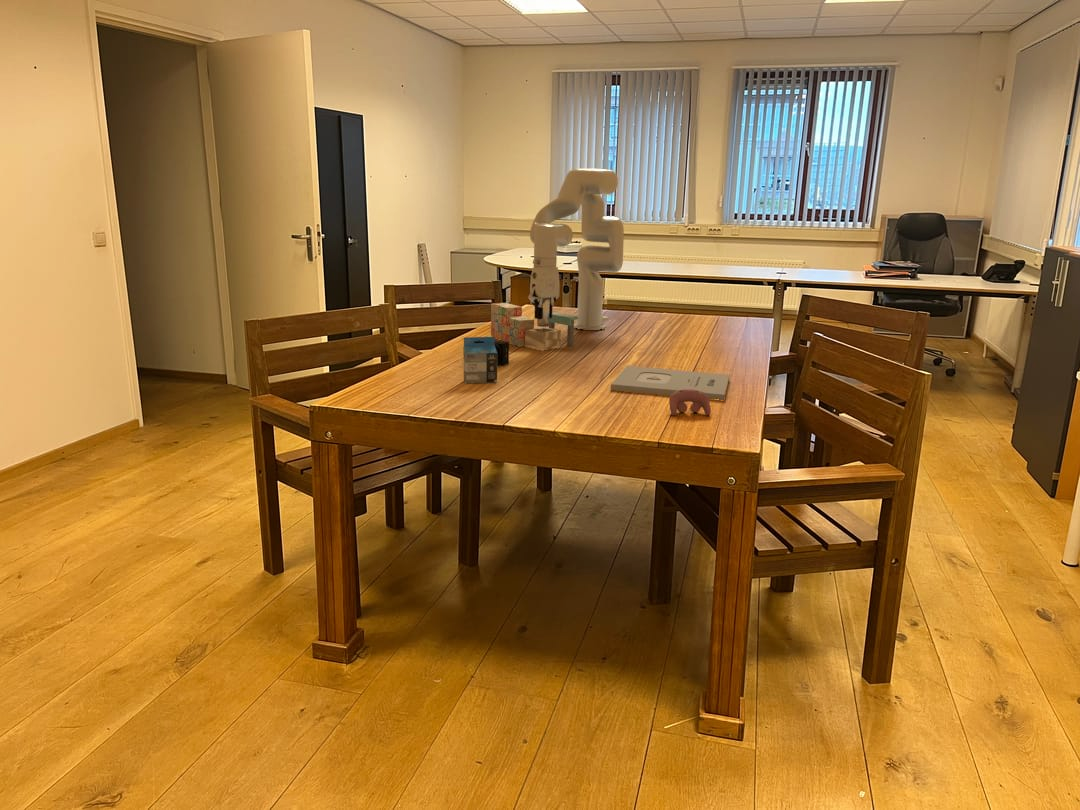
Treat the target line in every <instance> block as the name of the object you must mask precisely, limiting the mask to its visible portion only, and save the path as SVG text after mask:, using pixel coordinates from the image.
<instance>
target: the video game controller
mask: <svg viewBox="0 0 1080 810" xmlns="http://www.w3.org/2000/svg"><path fill="white" fill-rule="evenodd" d="M686 402H687V403H688V402H690V403H692V404H691V405H690V408H689V409H690V412H691V411H692V412H697V413H699V412H700V410H701V409H702V410H703V411H704V413H705V415H706V416H707V415H710V416H711V413H712V408H711V404H710V400H709V399H708V397H707V395H706V394H704V392H702V391H697V390H692V389H684V390H680V391H676V392H674V393H673V394H671V395H670V396H669V399H668V403H669V409H670V413H671V415H672V416H673V415H675V416H676V415H677V412H679V413H680V412H684V413H686V412H687V411H688V406H687V404H686ZM692 412H691V413H692Z"/></svg>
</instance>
